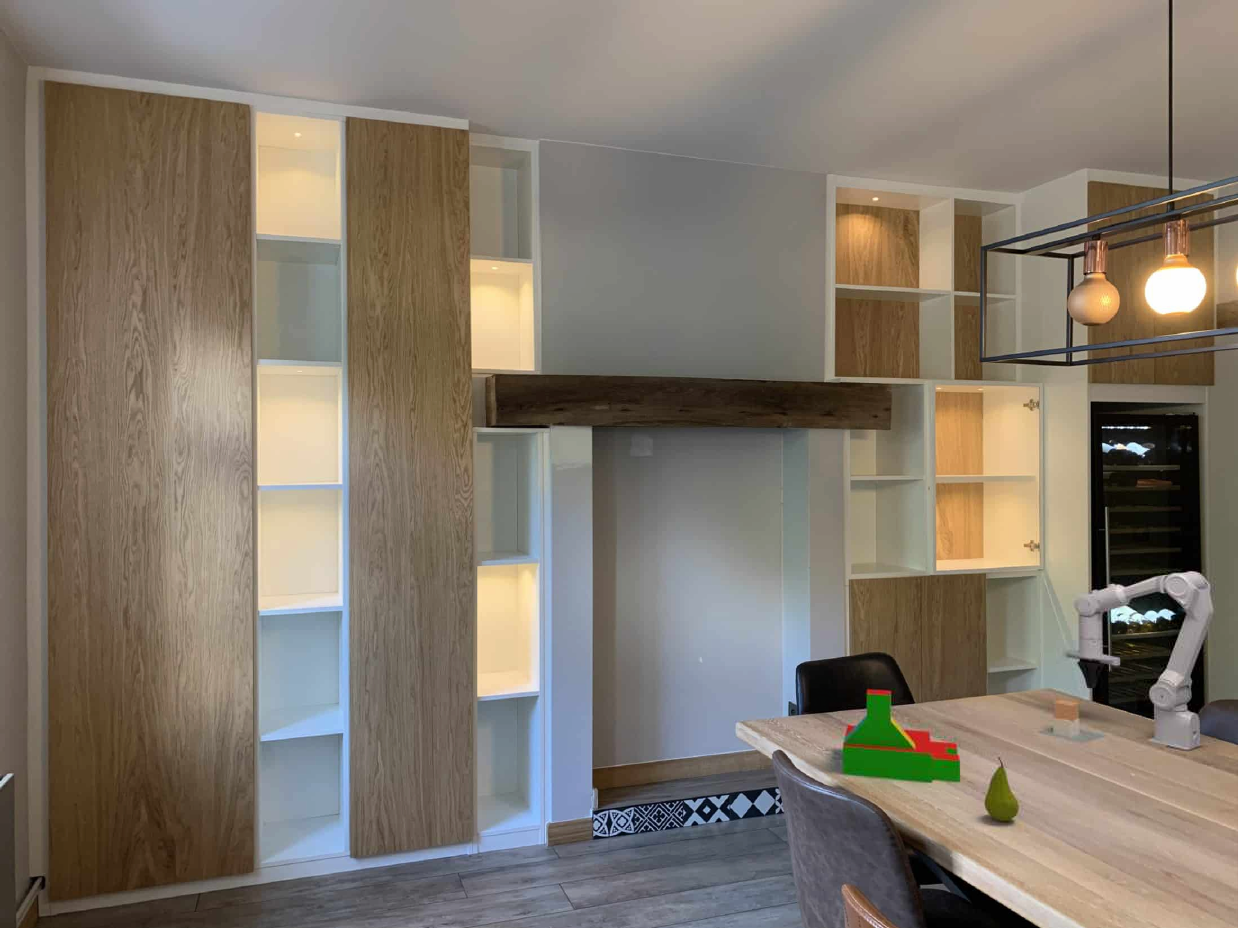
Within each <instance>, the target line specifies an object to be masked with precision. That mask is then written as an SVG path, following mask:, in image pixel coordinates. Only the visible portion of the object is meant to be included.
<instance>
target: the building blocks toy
mask: <svg viewBox="0 0 1238 928" xmlns="http://www.w3.org/2000/svg"><path fill="white" fill-rule="evenodd" d="M891 693H892V691H891V690H884V689H868V688H867V690H866V715H865V716H864V717H863V718H862V719H861V720H860V721H859V723H857V725H850V724H847V727H846V730H845V731H846V732H845V736H844V741H843V744H842V775H848V776H860V777H868V778H869V777H872V778H880V779H889V780H901V781H909V782H921V783H931V784H932V783H933V780H935V781H943V782H944V781H945V782H956V783H961V759H960V755H959V754H958V747H957V746H958V745H957V743H956V742H955V743H954V742H944V741H943V742H942V741H931V736H930V735H931V734H930V731H926V730H925V731H923V730H914V729H903V728H902V727H901V726H900V725H899V724H898V723H897V721H896V720H895V719H894V718H893V717H892V694H891Z"/></svg>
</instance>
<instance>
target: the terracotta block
mask: <svg viewBox="0 0 1238 928" xmlns="http://www.w3.org/2000/svg"><path fill="white" fill-rule="evenodd" d="M1079 709H1080V705H1079V702H1076V701H1071V700H1070V701H1069V700H1064V699H1059V700H1057V701H1055V702H1053V718H1057V719H1062V720H1068V721H1074V720H1076V719H1079V718H1080V712H1079V711H1080V710H1079Z"/></svg>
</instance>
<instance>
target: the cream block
mask: <svg viewBox="0 0 1238 928" xmlns="http://www.w3.org/2000/svg"><path fill="white" fill-rule="evenodd" d="M1052 719H1053V720H1052V722H1053V727H1052V728H1053V733H1056V734H1060V735H1064V736H1068V737H1072V736H1075V735H1079V729H1080V719H1079V718H1078V719H1076V720H1074V721H1068V720H1062V719H1057V718H1054V717H1053V718H1052Z"/></svg>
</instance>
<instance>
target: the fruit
mask: <svg viewBox="0 0 1238 928" xmlns="http://www.w3.org/2000/svg"><path fill="white" fill-rule="evenodd" d="M997 758H998V760H999V762H1000V764H1001V765H1000V766H998V768H997V769H996V771H995V772H994V773H993V775H992V777H991V779H990V782H989V786H988V789H987V793H986V794H985V797H984V807H985V810H986V811H987V813H988V815H989V816H990V817H991V818H992V819H993V820H994V821H998V822H1010V821H1011V820H1012V819H1014V818H1015V817H1016V816H1017V815H1018V813H1019V809H1020V808H1019V807H1020V806H1019V802H1018V799H1017V798H1016V796H1015V795H1014V793H1013V792H1012V789H1011V786H1010V785H1009V781H1008V776H1007V772H1006V769H1005V767H1004V764H1003V761H1002V759H1001V757H1000V756H998V757H997Z"/></svg>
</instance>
